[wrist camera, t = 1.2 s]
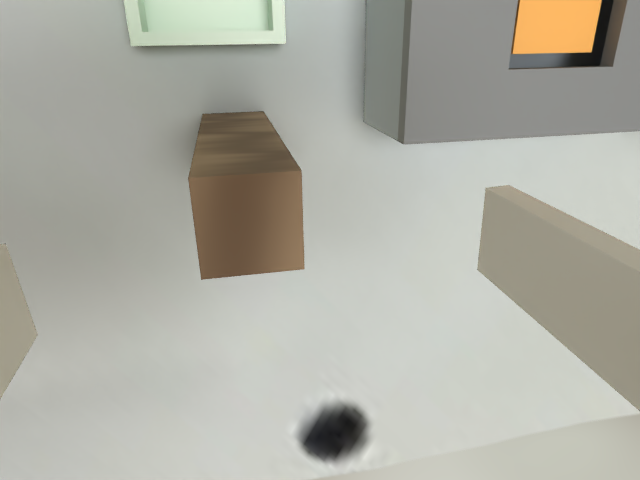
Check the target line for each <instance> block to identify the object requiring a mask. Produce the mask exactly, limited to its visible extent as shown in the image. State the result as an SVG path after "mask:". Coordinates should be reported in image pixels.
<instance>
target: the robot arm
mask: <svg viewBox="0 0 640 480" xmlns="http://www.w3.org/2000/svg"><path fill="white" fill-rule="evenodd" d="M477 270H478V271H479V272H481V273H482V274H483V275H484V276H485V277H486V278H487V279H489V280H490V281H491V282H492V283H493V284H494V285H495V286H497V287H498V288H499V289H500V290H501V291H502V292H504V293H505V294H506V295H507V296H508V297H509V298H510V299H512V300H513V301H514V302H515V303H516V304H517V305H518V306H520V307H521V308H522V309H523V310H524V311H525V312H526V313H528V314H529V315H530V316H531V317H532V318H533V319H535V320H536V321H537V322H538V323H539V324H540V325H541V326H543V327H544V328H545V329H546V330H547V331H548V332H549V333H551V334H552V335H553V336H554V337H555V338H556V339H557V340H559V341H560V342H561V343H562V344H563V345H564V346H566V347H567V348H568V349H569V350H570V351H571V352H572V353H574V354H575V355H576V356H577V357H578V358H579V359H580V360H582V361H583V362H584V363H585V364H586V365H587V366H588V367H590V368H591V369H592V370H593V371H594V372H595V373H597V374H598V375H599V376H600V377H601V378H602V379H603V380H605V381H606V382H607V383H608V384H609V385H610V386H611V387H613V388H614V389H615V390H616V391H617V392H618V393H619V394H621V395H622V396H623V397H624V398H625V399H626V400H628V401H629V402H630V403H631V404H632V405H633V406H634V407H636V408H637V409H638V410H639V411H640V250H639V249H637V248H635V247H633V246H631V245H629V244H627V243H625V242H623V241H621V240H619V239H617V238H615V237H613V236H611V235H609V234H607V233H605V232H603V231H601V230H599V229H597V228H595V227H593V226H591V225H589V224H586V223H584V222H582V221H580V220H578V219H576V218H574V217H572V216H570V215H568V214H566V213H564V212H562V211H560V210H558V209H556V208H554V207H552V206H550V205H548V204H546V203H544V202H542V201H540V200H538V199H536V198H534V197H532V196H530V195H528V194H526V193H524V192H522V191H520V190H518V189H516V188H514V187H512V186H510V185H506V186H498V187H489V188H486V190H485V200H484V210H483V219H482V229H481V239H480V249H479V258H478V268H477ZM37 335H38V334H37V332H36V329H35V326H34V323H33V320H32V317H31V314H30V312H29V309H28V306H27V303H26V300H25V297H24V294H23V292H22V289H21V286H20V283H19V280H18V277H17V274H16V272H15V269H14V266H13V263H12V260H11V257H10V254H9V252H8V249H7V246H6V244H0V399H1V397H2V395H3V394H4V392H5V390H6V389H7V387H8V385H9V383H10V382H11V380H12V378H13V377H14V375H15V373H16V371H17V370H18V368H19V366H20V365H21V363H22V361H23V359H24V358H25V356H26V354H27V353H28V351H29V349H30V347H31V346H32V344H33V342H34V341H35V339H36V337H37Z"/></svg>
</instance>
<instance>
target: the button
mask: <svg viewBox="0 0 640 480" xmlns="http://www.w3.org/2000/svg"><path fill="white" fill-rule="evenodd" d="M601 2H602V0H518V4H517V11H516V18H515V26H514V33H513V40H512V48H511V54H536V53H582V52H592V47H593V42H594V37H595V32H596V27H597V22H598V17H599V12H600V7H601Z"/></svg>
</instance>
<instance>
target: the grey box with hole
mask: <svg viewBox="0 0 640 480" xmlns="http://www.w3.org/2000/svg"><path fill="white" fill-rule="evenodd" d="M517 4H518V0H366V34H365V78H364V122H365V123H366V124H368V125H370V126H372V127H374V128H375V129H377V130H379V131H381V132H383V133H384V134H386V135H388V136H390V137H392V138H393V139H395V140H397V141H399V142H401V143H402V144H420V143H437V142H455V141H473V140H490V139H508V138H526V137H544V136H561V135H579V134H597V133H614V132H632V131H640V0H602V2H601V7H600V12H599V17H598V22H597V27H596V32H595V37H594V42H593V47H592V52H582V53H536V54H511V48H512V40H513V33H514V26H515V18H516V11H517Z"/></svg>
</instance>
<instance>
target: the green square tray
mask: <svg viewBox="0 0 640 480" xmlns="http://www.w3.org/2000/svg"><path fill="white" fill-rule="evenodd" d="M124 7H125V13H126V19H127V25H128V32H129V38H130V44H131V46H168V45H231V44H286V29H285V4H284V0H124Z"/></svg>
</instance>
